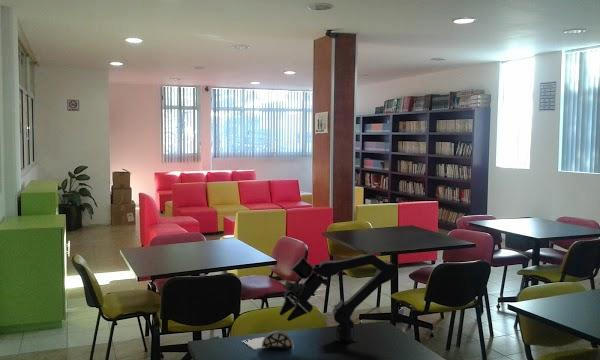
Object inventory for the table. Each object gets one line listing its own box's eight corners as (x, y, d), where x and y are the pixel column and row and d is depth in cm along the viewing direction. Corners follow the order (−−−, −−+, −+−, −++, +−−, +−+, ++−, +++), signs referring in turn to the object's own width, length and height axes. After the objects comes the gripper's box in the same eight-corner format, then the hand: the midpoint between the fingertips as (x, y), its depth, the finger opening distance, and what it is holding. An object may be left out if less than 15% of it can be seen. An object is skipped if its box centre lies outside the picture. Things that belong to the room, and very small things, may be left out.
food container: (295, 328, 212) (294, 332, 202) (294, 344, 211) (293, 349, 201) (264, 326, 212) (262, 330, 202) (263, 342, 211) (261, 347, 202)
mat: (263, 337, 220) (263, 336, 220) (277, 345, 210) (277, 344, 210) (241, 341, 215) (241, 340, 215) (254, 350, 205) (254, 349, 205)
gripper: (288, 270, 221) (262, 299, 217) (304, 277, 203) (277, 309, 199) (306, 287, 223) (281, 316, 220) (324, 296, 206) (297, 328, 202)
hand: (283, 317), depth 210 cm, fingers open, 9 cm apart
